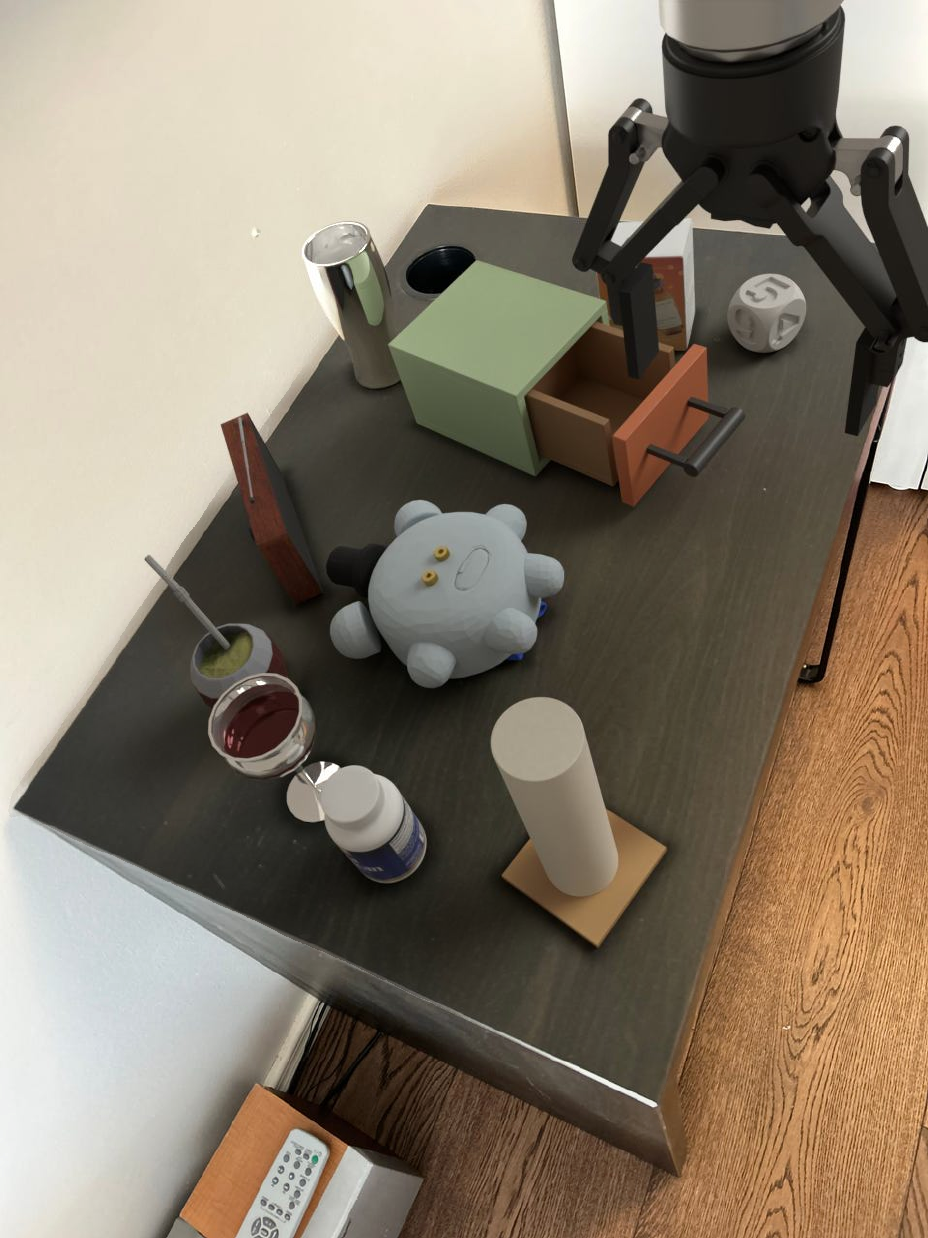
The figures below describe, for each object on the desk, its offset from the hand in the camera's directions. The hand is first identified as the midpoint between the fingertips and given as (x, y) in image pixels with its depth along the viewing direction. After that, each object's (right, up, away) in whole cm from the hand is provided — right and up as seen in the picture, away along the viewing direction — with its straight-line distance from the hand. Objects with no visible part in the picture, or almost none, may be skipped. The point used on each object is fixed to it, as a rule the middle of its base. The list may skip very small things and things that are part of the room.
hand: (746, 390), depth 58 cm
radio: (-33, -7, +31) cm, 46 cm away
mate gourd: (-34, -20, +22) cm, 45 cm away
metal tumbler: (-25, +12, +42) cm, 51 cm away
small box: (+1, +14, +36) cm, 39 cm away
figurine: (-18, -13, +23) cm, 32 cm away
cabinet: (-12, +7, +35) cm, 37 cm away
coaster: (-9, -30, +8) cm, 33 cm away
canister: (-9, -30, +7) cm, 32 cm away
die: (+11, +13, +32) cm, 37 cm away
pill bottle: (-22, -30, +12) cm, 39 cm away
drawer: (-2, +2, +27) cm, 27 cm away
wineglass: (-28, -27, +16) cm, 42 cm away
